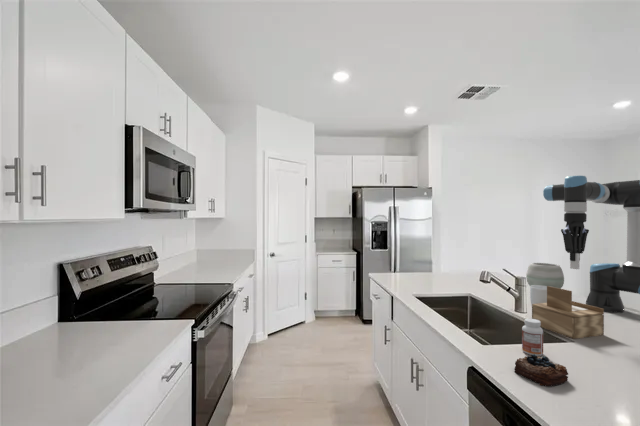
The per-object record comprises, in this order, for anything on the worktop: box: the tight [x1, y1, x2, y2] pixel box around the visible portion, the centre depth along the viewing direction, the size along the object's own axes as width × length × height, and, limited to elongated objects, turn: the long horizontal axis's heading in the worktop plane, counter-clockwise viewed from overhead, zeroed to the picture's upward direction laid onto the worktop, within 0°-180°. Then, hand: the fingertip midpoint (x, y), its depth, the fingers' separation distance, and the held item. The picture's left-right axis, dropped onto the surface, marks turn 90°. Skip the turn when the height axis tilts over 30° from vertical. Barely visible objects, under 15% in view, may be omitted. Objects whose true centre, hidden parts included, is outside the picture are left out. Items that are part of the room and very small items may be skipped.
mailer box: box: [531, 306, 605, 340], centre depth 139 cm, size 16×18×8 cm
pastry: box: [513, 354, 569, 388], centre depth 98 cm, size 11×12×6 cm
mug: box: [529, 285, 547, 307], centre depth 161 cm, size 15×11×13 cm
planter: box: [525, 262, 565, 289], centre depth 172 cm, size 16×16×22 cm
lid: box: [532, 286, 605, 317], centre depth 139 cm, size 16×18×9 cm
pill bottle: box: [521, 318, 544, 357], centre depth 115 cm, size 6×6×11 cm
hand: (574, 268), depth 141 cm, fingers closed
